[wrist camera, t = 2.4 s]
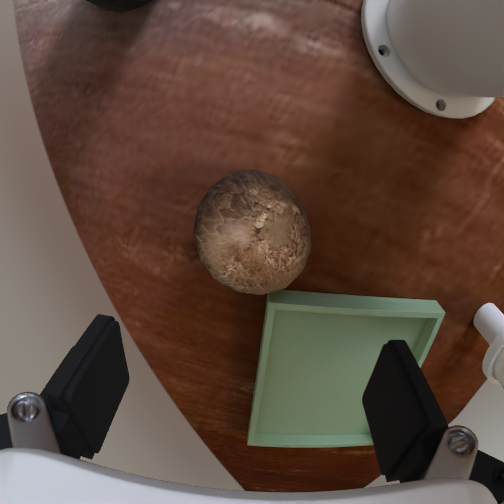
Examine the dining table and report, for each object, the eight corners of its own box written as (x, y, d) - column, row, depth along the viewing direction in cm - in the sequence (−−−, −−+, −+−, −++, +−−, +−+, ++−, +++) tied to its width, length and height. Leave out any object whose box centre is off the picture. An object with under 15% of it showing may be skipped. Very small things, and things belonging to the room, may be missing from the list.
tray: (268, 288, 25) (268, 302, 23) (435, 300, 25) (445, 312, 23) (248, 431, 33) (247, 445, 31) (372, 431, 33) (376, 444, 31)
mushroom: (184, 297, 22) (214, 310, 16) (175, 183, 22) (203, 157, 16) (282, 284, 26) (334, 290, 20) (274, 184, 25) (323, 165, 20)
